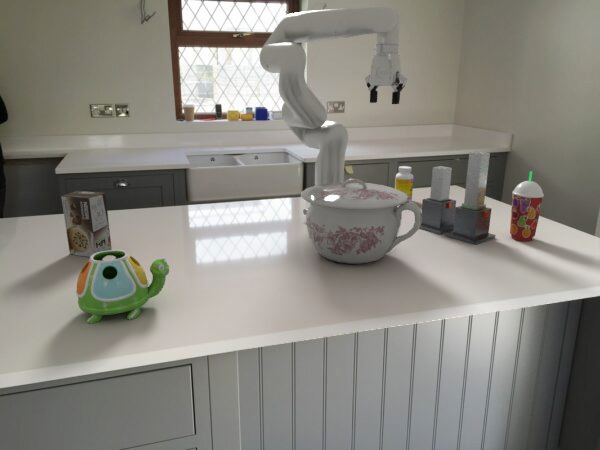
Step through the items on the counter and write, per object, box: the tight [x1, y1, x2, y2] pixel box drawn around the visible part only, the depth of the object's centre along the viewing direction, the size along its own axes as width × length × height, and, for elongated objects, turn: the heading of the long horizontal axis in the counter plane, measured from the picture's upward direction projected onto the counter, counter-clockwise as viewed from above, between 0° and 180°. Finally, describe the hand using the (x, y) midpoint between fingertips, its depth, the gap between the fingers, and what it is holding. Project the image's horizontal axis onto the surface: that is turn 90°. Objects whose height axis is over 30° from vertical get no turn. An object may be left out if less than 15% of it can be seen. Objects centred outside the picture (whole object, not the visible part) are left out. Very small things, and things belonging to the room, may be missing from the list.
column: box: [429, 165, 453, 203], centre depth 155 cm, size 5×5×18 cm
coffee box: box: [61, 190, 113, 258], centre depth 131 cm, size 9×6×16 cm
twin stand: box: [445, 150, 496, 245], centre depth 145 cm, size 10×10×25 cm
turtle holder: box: [75, 249, 170, 324], centre depth 101 cm, size 12×18×12 cm
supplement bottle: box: [394, 165, 414, 203], centre depth 189 cm, size 7×7×13 cm
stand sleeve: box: [419, 197, 457, 235], centre depth 156 cm, size 10×10×9 cm
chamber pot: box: [300, 178, 422, 265], centre depth 130 cm, size 28×28×21 cm
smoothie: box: [509, 171, 545, 242], centre depth 145 cm, size 8×8×20 cm
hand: (384, 103), depth 172 cm, fingers open, 9 cm apart
